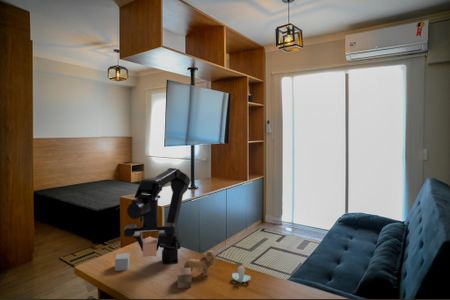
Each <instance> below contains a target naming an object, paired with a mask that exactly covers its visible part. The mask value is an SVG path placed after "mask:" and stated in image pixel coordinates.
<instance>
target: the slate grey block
mask: <svg viewBox="0 0 450 300" xmlns="http://www.w3.org/2000/svg"><path fill="white" fill-rule="evenodd" d="M129 266H130V252H129V253H128V252H127V253H116V256H115V259H114V271H115V272H118V271H128V270H129Z"/></svg>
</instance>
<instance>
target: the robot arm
mask: <svg viewBox="0 0 450 300" xmlns="http://www.w3.org/2000/svg"><path fill="white" fill-rule="evenodd" d="M168 183H170V189H171V192H172V194H171V198H170V203H169V204H170V205H169V208H168V213H167V218H166V222H164V225H159V216H158V215H159V213H158V211H159V205H158V204H159V199H160V198H161V195H160V193H161V191H163V187H164V186H165V185H167V184H168ZM190 184H191V179H190V177H189V176H188V174H186V173H184V172H183V171H181V170H180V169H179V168H175V167H174V168H173V167H170V168H167V170H165V171H163V172H162V173H160V174H158V175H157V176H155V177H147V178H143V179H142V180H141V181H140V182H139V185H138V187H137V189H136V192H135V194H134V199H131V203H130V204H129V205H128V207H127V209H126V212H127V213H126V214H127V216H128V217H129V218H130V219H132V220H137V219H139V222H140V223H142V226H137V224H127V225H126V226H124V230H123V237H125V238H126V237H127V238H129V237H132V239H135V240H136V241H137V244H138V245H139V247H140V250H141V252H142V253H143V241H144V239H143V237H144V236H143V233H153V232H158V233H157V235H158V236H157V251H159V248H160V249H161V248H162V250H161V261H162V264H163V265H167V264H168V265H169V264H177V263H179V257H178V254H179V253H178V252H179V250H180V249H181V247H182V245H183V240H181V238H180V237H179V234H180V231H179V229H178V222H179V217H180V216H179V215H180V212H181V208H182V202H183V196H184V194H186V192H187V191H188V189H189V186H190Z"/></svg>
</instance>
